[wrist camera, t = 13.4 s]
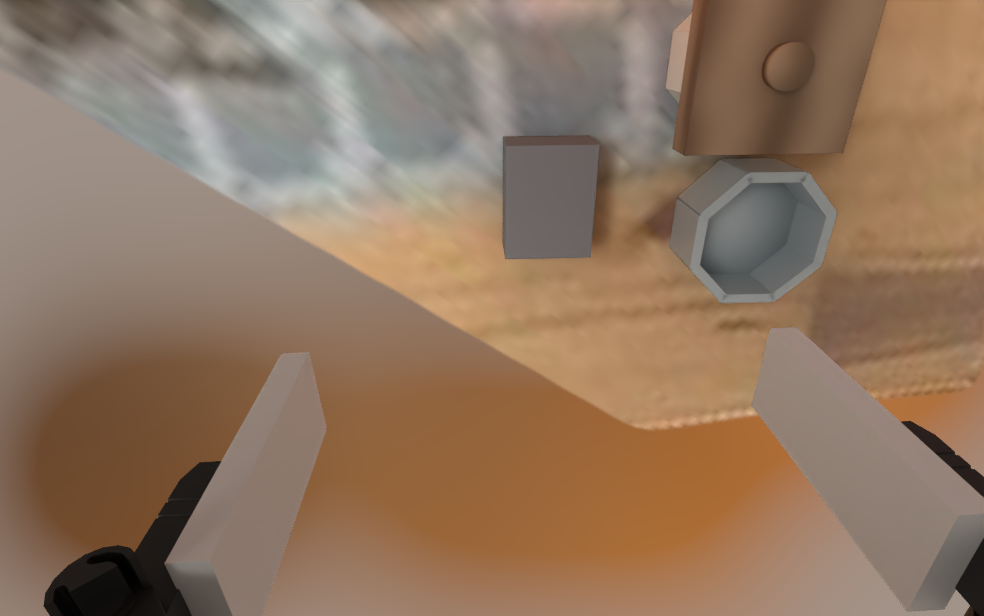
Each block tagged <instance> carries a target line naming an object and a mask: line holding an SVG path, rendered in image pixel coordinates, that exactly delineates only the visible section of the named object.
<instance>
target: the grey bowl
mask: <svg viewBox="0 0 984 616" xmlns="http://www.w3.org/2000/svg"><path fill="white" fill-rule="evenodd" d="M836 212H837V211H836V210H835V208H834V207H833V205H832V204H831V203H830V201H829V200H828V198H827V197H826V196H825V194H824V193H823V192H822V190H821V189H820V187H819V186H818V185H817V183H816V182H815V180H814V179H813V178H812V176H811V175H810V174H809V172H807V171H804V170H802V169H799V168H797V167H794V166H792V165H790V164H787V163H785V162H782V161H780V160H777V159H775V158H734V159H722V160H719V161H718V162H717V163H715V164H714V165H713V166H712V167H711V168H710V169H709V170H707V171H706V172H705V173H704V174H703V175H702V176H701V177H699V178H698V179H697V180H696V181H695V182H694V183H693V184H692V185H690V186H689V187H688V188H687V189H686V190H685V191H684V192H682V193H681V194H680V195H679V196H678V198H677V200H676V206H675V213H674V219H673V226H672V232H671V239H670V245H669V246H670V249H671V250H672V251H673V252H674V253H675V254H676V255H677V256H678V257H679V258H680V259H681V261H682V262H683V263H684V264H685V265H686V266H687V267H688V268H689V269H690V270H691V271H692V273H693V274H694V275H695V276H696V277H697V278H698V279H699V280H700V281H701V282H702V283H703V285H704V286H705V287H706V288H707V289H708V290H709V291H710V292H711V293H712V294H713V295H714V296H715V297H716V298H717V300H718V301H719V302H720V303H757V302H773V300H774V301H776V300H777V299H779V298H780V297H781V296H783V295H784V294H785V293H787V292H788V291H789V290H791V289H792V288H793V287H795V286H796V285H797V284H799V283H800V282H801V281H803V280H804V279H805V278H807V277H808V276H809V275H811V274H812V273H813V272H815V271H816V270H817V269H819V268H820V265H822V263H823V260H824V257H825V253H826V250H827V246H828V243H829V240H830V236H831V233H832V230H833V226H834V223H835V220H836V216H837V213H836Z"/></svg>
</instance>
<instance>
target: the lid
mask: <svg viewBox="0 0 984 616" xmlns="http://www.w3.org/2000/svg"><path fill="white" fill-rule="evenodd" d="M886 1H887V0H694V3H693V10H692V17H691V24H690V31H689V38H688V45H687V52H686V59H685V65H684V72H683V79H682V86H681V93H680V100H679V107H678V114H677V121H676V128H675V135H674V141H673V149H674V150H676V151H678V152H680V153H681V154H683V155H685V156H686V155H757V154H827V153H843V151H844V147H845V144H846V140H847V137H848V134H849V130H850V127H851V123H852V120H853V116H854V113H855V109H856V106H857V102H858V99H859V95H860V92H861V88H862V85H863V81H864V78H865V74H866V71H867V67H868V64H869V61H870V57H871V54H872V50H873V47H874V43H875V40H876V36H877V33H878V29H879V26H880V22H881V19H882V15H883V12H884V8H885V5H886Z"/></svg>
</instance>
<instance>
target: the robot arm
mask: <svg viewBox="0 0 984 616" xmlns="http://www.w3.org/2000/svg"><path fill="white" fill-rule="evenodd" d="M752 407H753V408H754V409H755V411H756V412H757V413H758V415H759V416H760V417H761V418H762V420H763V421H764V422H765V424H766V425H767V426H768V428H769V429H770V430H771V431H772V433H773V434H774V436H775V437H776V438H777V440H778V441H779V442H780V443H781V445H782V446H783V448H784V449H785V450H786V452H787V453H788V454H789V456H790V457H791V458H792V459H793V461H794V462H795V464H796V465H797V466H798V468H799V469H800V470H801V472H802V473H803V474H804V476H805V477H806V478H807V480H808V481H809V482H810V484H811V485H812V486H813V487H814V489H815V490H816V491H817V493H818V494H819V495H820V497H821V498H822V499H823V501H824V502H825V503H826V505H827V506H828V507H829V509H830V510H831V511H832V513H833V514H834V515H835V517H836V518H837V519H838V521H839V522H840V523H841V525H842V526H843V527H844V529H845V530H846V531H847V533H848V534H849V535H850V536H851V538H852V539H853V541H854V542H855V543H856V544H857V546H858V547H859V548H860V550H861V551H862V552H863V554H864V555H865V556H866V558H867V559H868V560H869V562H870V563H871V564H872V566H873V567H874V568H875V570H876V571H877V572H878V574H879V575H880V576H881V577H882V579H883V580H884V582H885V583H886V584H887V586H888V587H889V588H890V590H891V591H892V592H893V594H894V595H895V596H896V598H897V599H898V600H899V602H900V603H901V604H902V606H903V607H904V608H905V610H906V611H907V612H910V611H925V610H941V609H945V607H946V606H947V604H948V602H949V600H950V599H951V597H952V595H953V594H954V592H955V590H957V591H958V592H959V593H960V594H961V595H962V597H963V598H964V599H965V600H966V601H967V602H968V603H969V605H970V607H969V608H968V610H967V612H966V613H965V615H964V616H984V477H983V476H982V475H981V474H980V473H978V472H977V471H976V470H975V469H971V466H970V465H969V464H968V463H967V462H966V461H965V460H964V459H962V458H961V457H960V456H958V455H955V452H954V451H953V450H952V449H951V448H950V447H949V446H947V445H946V444H945V443H944V442H943V441H942V440H941V439H939V438H938V437H937V436H936V435H934V434H933V433H931V432H929V431H927V430H925V429H924V428H922V427H920V426H918V425H917V424H915V423H913V422H911V421H903V422H900V421H899V420H898V419H897V418H896V417H894V416H893V415H892V414H891V413H890V412H889V411H888V410H887V409H886V408H885V407H884V406H882V405H881V404H880V403H879V402H878V401H877V400H876V399H875V398H874V397H873V396H872V395H870V394H869V393H868V392H867V391H866V390H865V389H864V388H863V387H862V386H861V385H859V384H858V383H857V382H856V381H855V380H854V379H853V378H852V377H851V376H850V375H848V374H847V373H846V372H845V371H844V370H843V369H842V368H841V367H840V366H839V365H837V364H836V363H835V362H834V361H833V360H832V359H831V358H830V357H829V356H828V355H827V354H825V353H824V352H823V351H822V350H821V349H820V348H819V347H818V346H817V345H816V344H814V343H813V342H812V341H811V340H810V339H809V338H808V337H807V336H806V335H805V334H803V333H802V332H801V331H800V330H799V329H798V328H797V327H787V328H770V331H769V335H768V339H767V343H766V347H765V351H764V355H763V360H762V364H761V368H760V372H759V376H758V380H757V384H756V389H755V393H754V397H753V401H752ZM325 432H326V424H325V420H324V415H323V411H322V406H321V402H320V398H319V394H318V389H317V385H316V380H315V376H314V371H313V367H312V363H311V358H310V354H309V352H305V353H286V354H281V356H280V358H279V360H278V361H277V363H276V365H275V367H274V368H273V370H272V372H271V374H270V376H269V377H268V379H267V381H266V383H265V385H264V386H263V388H262V390H261V392H260V393H259V395H258V397H257V399H256V401H255V402H254V404H253V406H252V408H251V409H250V411H249V413H248V415H247V417H246V419H245V420H244V422H243V424H242V426H241V427H240V429H239V431H238V433H237V435H236V436H235V438H234V440H233V442H232V444H231V446H230V447H229V449H228V451H227V452H226V454H225V456H224V458H223V460H222V461H216V462H200V463H199V464H197V465H196V466H195V467H194V468H193V469H192V470H191V471H189V472H188V473H187V474H186V475H185V476H184V477H183V478H182V479H180V481H179V482H178V484H177V486H176V487H175V489H174V490H173V492H172V494H171V495H170V497H169V498H168V503H165V505H164V506H163V508H162V510H161V511H160V513H159V514H158V516H159V517H158V519H155V521H154V522H153V524H152V525H151V527H150V529H149V530H148V532H147V534H146V535H145V537H144V538H143V540H142V541H141V543H140V545H139V546H138V548H137V549H136V551H135V553H134V552H133V550H132V549H131V548H128V547H124V546H119V545H117V546H111V547H104V548H101V549H98V550H95V551H93V552H91V553H88V554H85V555H84V556H82V557H81V558H79V559H78V560H76V561H75V562H73V563H71V564H70V565H68V566H67V567H66V568H65V569H64V570H63V571H62V572H61V573H60V574H59V575H58V576H57V577H56V578H55V579H54V580H53V582H52V584H51V585H50V587H49V588H48V590H47V591H46V593H45V600H44V607H45V609H46V610H47V612H48V613H49V615H50V616H262V615H263V612H264V609H265V606H266V603H267V601H268V597H269V595H270V592H271V589H272V586H273V583H274V580H275V577H276V574H277V571H278V569H279V565H280V563H281V560H282V557H283V554H284V551H285V548H286V545H287V542H288V540H289V537H290V534H291V530H292V528H293V525H294V522H295V519H296V516H297V513H298V510H299V507H300V505H301V502H302V499H303V496H304V493H305V490H306V487H307V484H308V481H309V478H310V475H311V473H312V470H313V467H314V464H315V461H316V458H317V455H318V452H319V449H320V446H321V443H322V441H323V438H324V435H325Z"/></svg>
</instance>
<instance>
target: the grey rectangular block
mask: <svg viewBox="0 0 984 616" xmlns="http://www.w3.org/2000/svg"><path fill="white" fill-rule="evenodd" d="M599 150H600V144H598V143H597V142H596V141H595V140H594V139H593V138H591V137H590V136H516V137H503V248H504V254H505V259H539V258H589V257H591V245H592V233H593V221H594V210H595V198H596V186H597V174H598V162H599Z"/></svg>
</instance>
